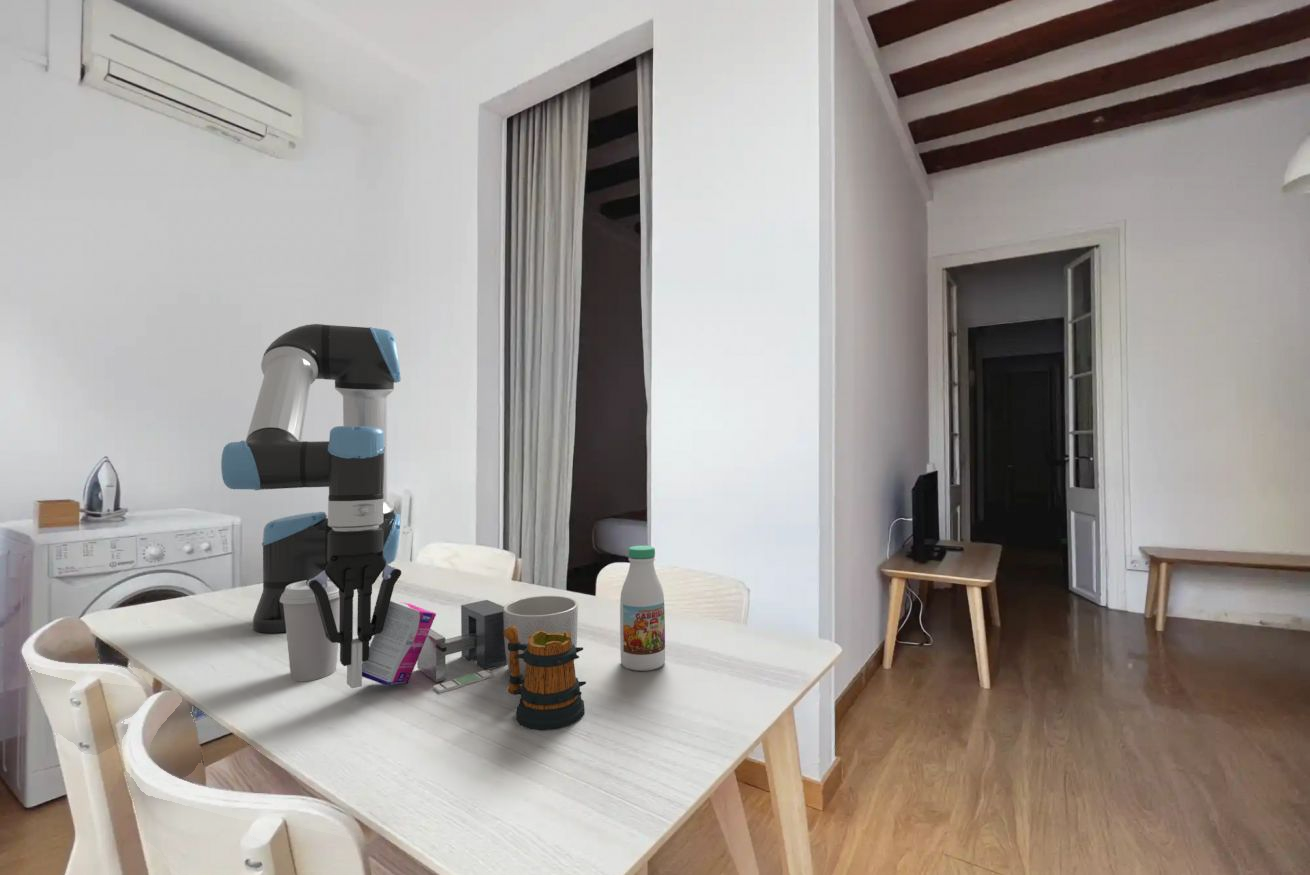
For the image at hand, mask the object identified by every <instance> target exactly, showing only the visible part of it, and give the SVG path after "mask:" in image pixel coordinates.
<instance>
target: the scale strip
mask: <svg viewBox="0 0 1310 875" xmlns="http://www.w3.org/2000/svg"><path fill="white" fill-rule="evenodd" d="M493 677H495V674H494V673H493V672H492V671H490V669H489V670H481V671H478V672H475V673H470V674H467V675H463V676H461V677H460V676H459V677H457V678H455V679H451V680H448V681H445V682H441V683H439V684H435V685H433V688H432V689H433V690H435V691H437V693H439V694H441V693H442V694H443V692H447V691H452V690H454V689H458V688H461V687H463V686H467V685H470V684H473V683H476V682H480V681H482V680H486V679H489V678H493ZM457 687H458V688H457Z"/></svg>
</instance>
